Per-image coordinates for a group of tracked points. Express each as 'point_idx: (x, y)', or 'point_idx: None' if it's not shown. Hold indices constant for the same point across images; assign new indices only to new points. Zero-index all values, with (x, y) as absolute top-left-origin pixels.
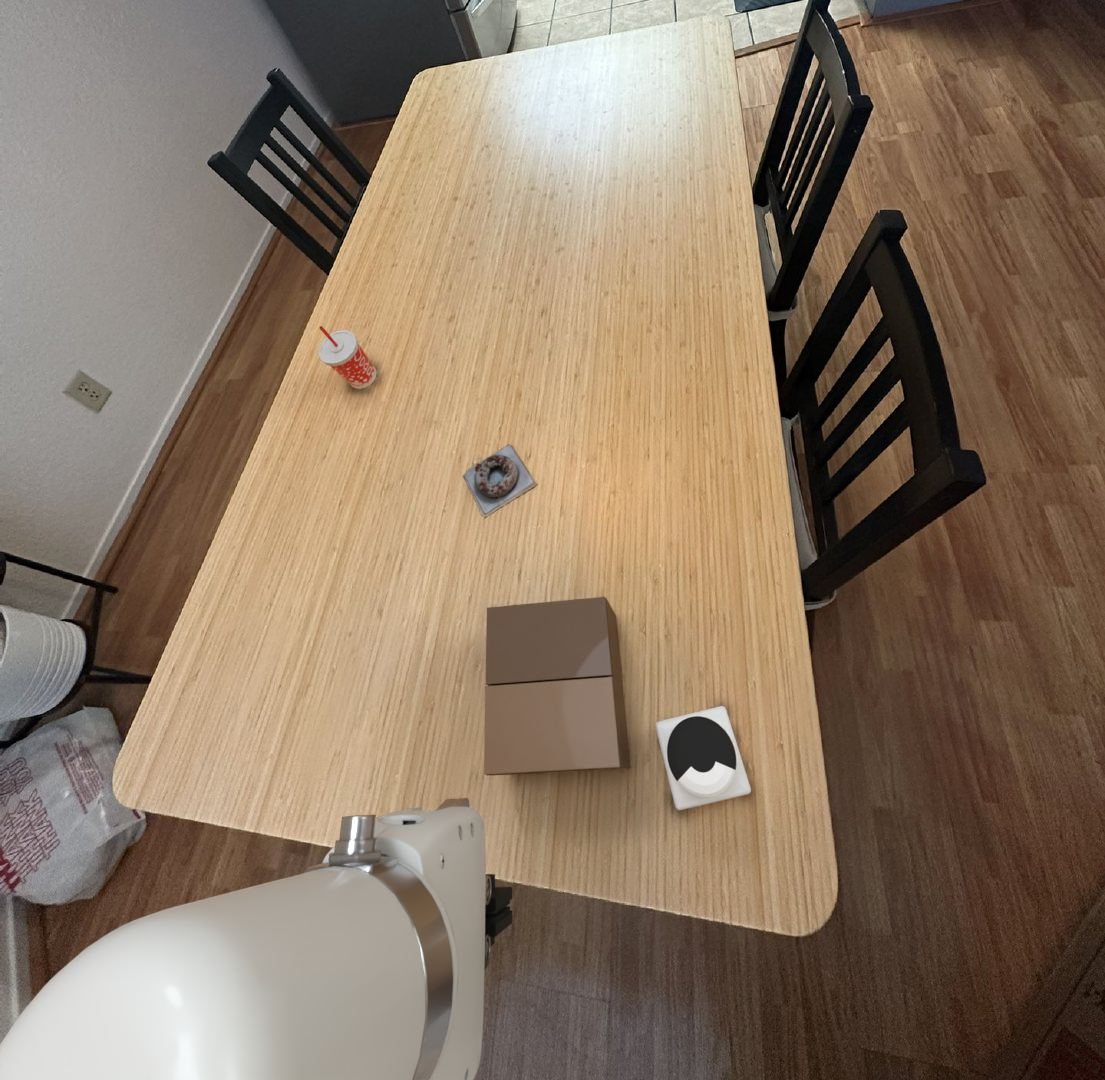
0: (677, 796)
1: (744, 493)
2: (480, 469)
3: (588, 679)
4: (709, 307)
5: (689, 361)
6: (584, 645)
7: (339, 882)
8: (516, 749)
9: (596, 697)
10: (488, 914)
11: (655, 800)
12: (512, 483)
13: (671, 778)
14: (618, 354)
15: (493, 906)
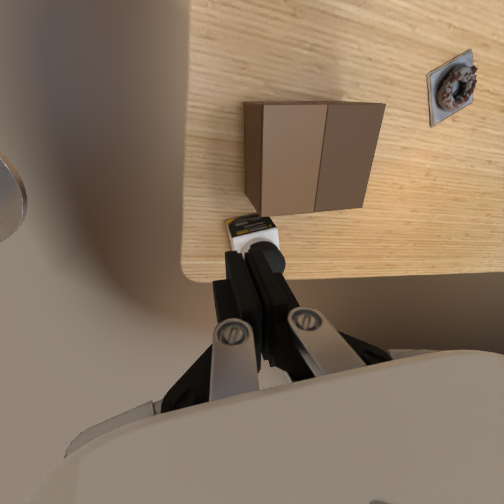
0: (239, 239)
1: (370, 262)
2: (470, 72)
3: (315, 196)
4: (477, 250)
5: (454, 238)
6: (336, 193)
7: None
8: (278, 136)
9: (303, 202)
10: (264, 356)
11: (228, 206)
12: (444, 106)
13: (248, 237)
14: (485, 194)
15: (274, 364)
